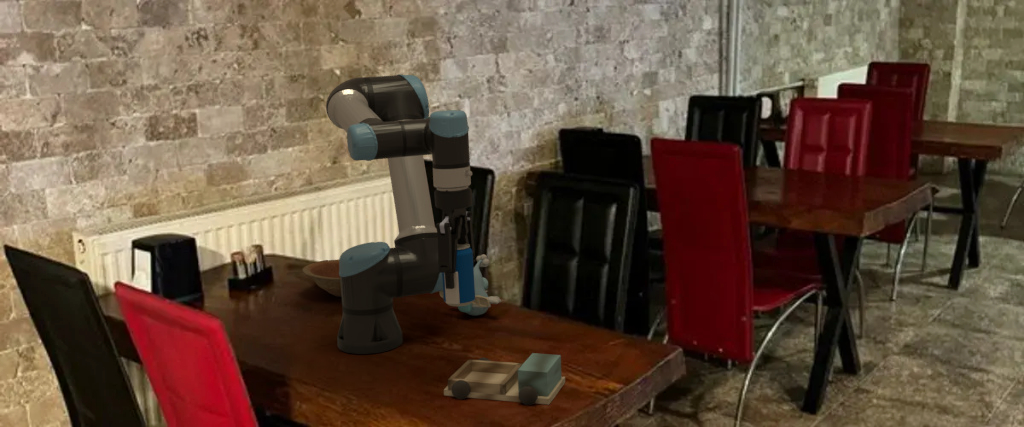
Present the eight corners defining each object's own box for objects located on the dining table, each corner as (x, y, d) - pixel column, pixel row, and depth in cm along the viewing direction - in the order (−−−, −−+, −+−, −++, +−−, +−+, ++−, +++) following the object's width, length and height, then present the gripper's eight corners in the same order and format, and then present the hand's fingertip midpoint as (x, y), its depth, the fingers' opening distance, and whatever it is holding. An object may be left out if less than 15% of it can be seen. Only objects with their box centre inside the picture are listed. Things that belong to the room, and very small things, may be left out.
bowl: (385, 304, 265) (383, 275, 263) (296, 307, 265) (293, 278, 264) (396, 280, 288) (394, 253, 286) (314, 283, 289) (312, 256, 287)
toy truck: (441, 397, 199) (440, 368, 198) (467, 372, 213) (465, 344, 211) (547, 407, 192) (546, 376, 191) (566, 380, 206) (565, 351, 205)
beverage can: (444, 300, 208) (440, 243, 206) (474, 298, 208) (471, 241, 206) (443, 308, 202) (440, 250, 199) (475, 306, 202) (472, 248, 200)
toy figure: (515, 314, 251) (512, 257, 248) (487, 325, 243) (484, 266, 240) (466, 304, 262) (463, 249, 259) (438, 314, 254) (435, 257, 251)
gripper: (451, 195, 190) (458, 312, 194) (487, 180, 208) (492, 287, 212) (415, 195, 193) (423, 310, 197) (453, 180, 211) (460, 286, 215)
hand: (459, 298), depth 205 cm, fingers closed on beverage can, 6 cm apart
